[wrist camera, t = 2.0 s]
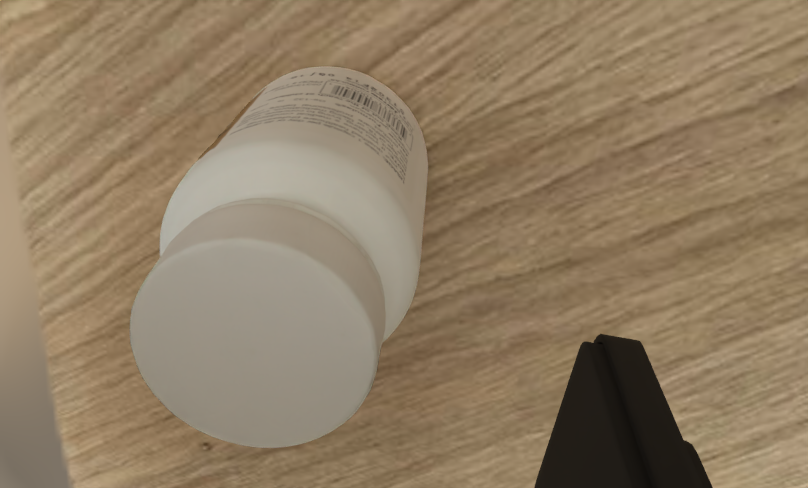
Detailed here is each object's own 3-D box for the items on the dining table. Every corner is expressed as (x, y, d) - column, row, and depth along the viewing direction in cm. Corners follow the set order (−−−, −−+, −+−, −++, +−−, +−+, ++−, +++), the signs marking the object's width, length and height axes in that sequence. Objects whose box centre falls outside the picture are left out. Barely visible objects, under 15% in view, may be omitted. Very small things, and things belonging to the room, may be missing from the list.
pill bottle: (214, 78, 16) (41, 229, 9) (412, 48, 16) (381, 183, 9) (263, 255, 18) (148, 488, 11) (441, 233, 18) (434, 464, 11)
